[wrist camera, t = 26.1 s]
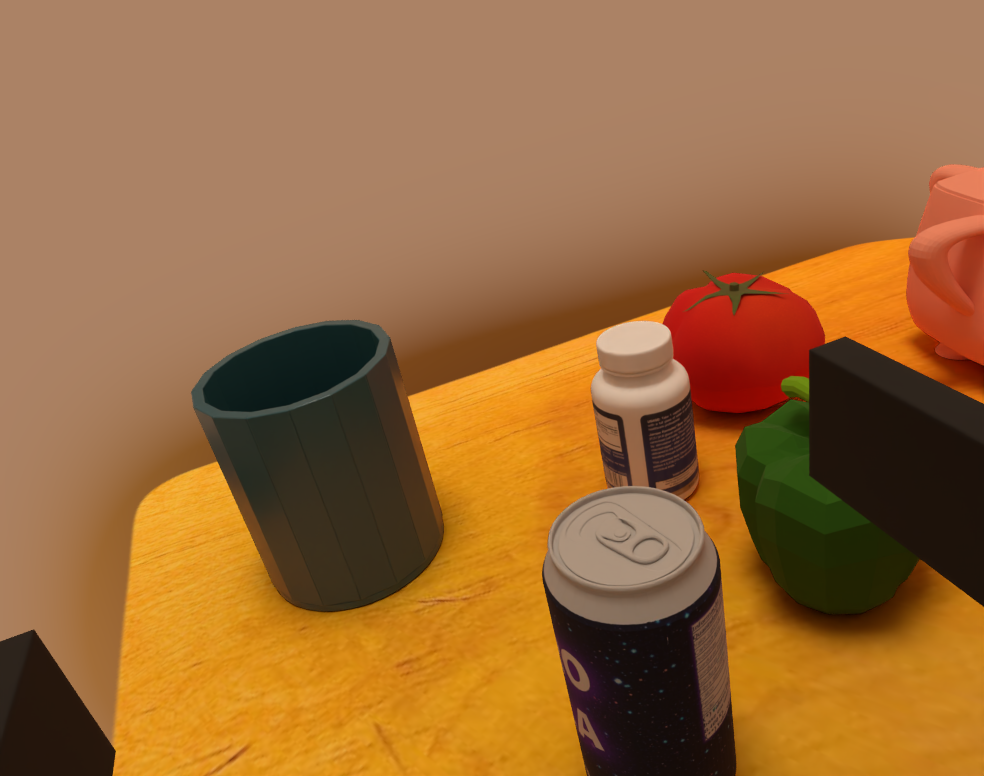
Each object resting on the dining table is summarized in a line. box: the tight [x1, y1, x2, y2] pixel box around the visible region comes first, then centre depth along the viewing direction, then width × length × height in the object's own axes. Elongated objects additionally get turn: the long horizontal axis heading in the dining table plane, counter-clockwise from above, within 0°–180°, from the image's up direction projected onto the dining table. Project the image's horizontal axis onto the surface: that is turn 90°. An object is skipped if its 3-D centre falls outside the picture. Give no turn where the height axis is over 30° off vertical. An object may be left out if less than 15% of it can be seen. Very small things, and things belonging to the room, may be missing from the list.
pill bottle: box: [591, 321, 699, 500], centre depth 43 cm, size 5×5×10 cm
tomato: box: [663, 271, 825, 413], centre depth 50 cm, size 9×10×8 cm
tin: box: [191, 320, 444, 611], centre depth 43 cm, size 10×10×12 cm
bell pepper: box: [735, 376, 920, 614], centre depth 34 cm, size 8×8×10 cm
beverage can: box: [542, 486, 736, 776], centre depth 27 cm, size 6×6×12 cm
